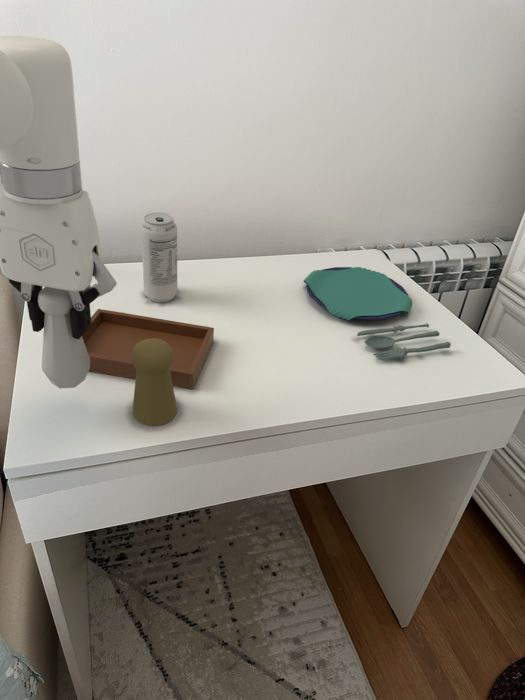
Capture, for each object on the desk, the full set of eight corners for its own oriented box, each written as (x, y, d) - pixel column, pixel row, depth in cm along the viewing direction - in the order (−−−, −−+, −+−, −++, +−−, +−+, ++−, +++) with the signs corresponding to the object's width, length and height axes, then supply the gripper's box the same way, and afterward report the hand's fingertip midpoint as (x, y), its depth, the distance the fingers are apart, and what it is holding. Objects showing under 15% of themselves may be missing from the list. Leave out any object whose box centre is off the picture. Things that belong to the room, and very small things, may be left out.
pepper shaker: (130, 398, 75) (126, 333, 68) (174, 394, 76) (173, 330, 70) (133, 428, 70) (128, 361, 64) (179, 423, 72) (179, 357, 65)
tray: (64, 366, 79) (62, 351, 78) (99, 322, 89) (98, 308, 88) (192, 389, 78) (193, 374, 76) (213, 341, 88) (214, 327, 86)
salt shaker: (87, 362, 72) (78, 275, 65) (96, 387, 68) (88, 298, 61) (40, 370, 70) (26, 281, 62) (47, 397, 65) (33, 304, 58)
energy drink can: (173, 286, 102) (172, 210, 93) (181, 301, 97) (180, 223, 88) (141, 289, 100) (137, 212, 91) (148, 305, 95) (144, 226, 86)
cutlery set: (375, 271, 114) (377, 261, 113) (460, 352, 92) (464, 341, 90) (289, 279, 108) (290, 268, 107) (357, 367, 85) (360, 356, 84)
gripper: (-60, 175, 52) (-23, 333, 62) (107, 202, 50) (116, 359, 61) (-14, 156, 58) (13, 303, 68) (135, 180, 57) (139, 326, 67)
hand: (61, 328), depth 64 cm, fingers closed on salt shaker, 4 cm apart
